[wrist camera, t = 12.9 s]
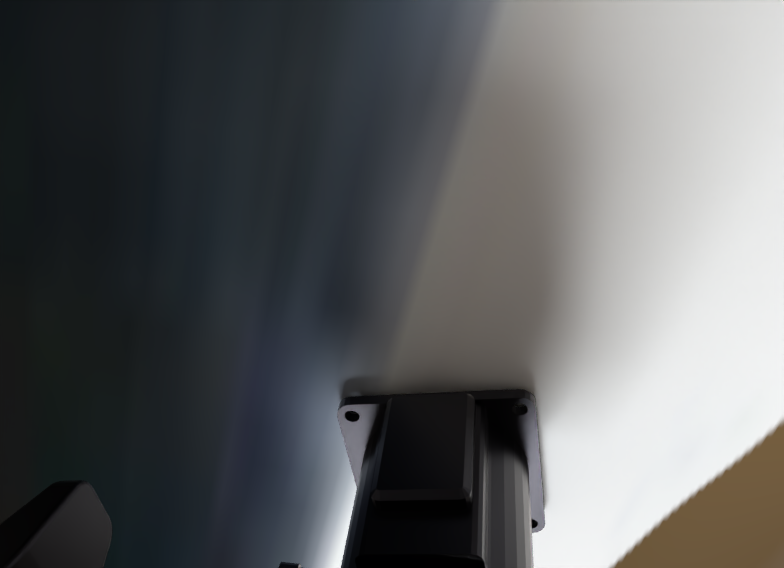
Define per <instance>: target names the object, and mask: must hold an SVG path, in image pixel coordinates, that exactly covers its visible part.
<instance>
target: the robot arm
mask: <svg viewBox="0 0 784 568" xmlns="http://www.w3.org/2000/svg"><path fill="white" fill-rule="evenodd" d="M515 404H524V405H525V406H522V407H517V406H515ZM350 410H351V411H355V412H357V413H356V414H354V413H351V412H349V411H350ZM337 417H338V421H339V424H340V428H341V431H342V435H343V439H344V442H345V446H346V450H347V453H348V457H349V460H350V464H351V468H352V471H353V475H354V478H355V482H356V486H357V491H356V496H355V501H354V506H353V511H352V516H351V521H350V526H349V531H348V536H347V540H346V545H345V550H344V555H343V560H342V565H341V568H534V567H533V547H532V533H534V532H538V531H541V530H542V529H543V528H544V526H545V515H544V502H543V490H542V477H541V464H540V452H539V439H538V427H537V414H536V401H535V398H534V396H533V395H532V394H531V393H530V392H528V391H526V390H521V389H513V390H491V391H469V392H447V393H424V394H402V395H380V396H358V397H348V398H345V399H343V400H342V401H341V403H340V405H339V408H338V412H337ZM111 538H112V523H111V520H110V517H109V516H108V514H107V512H106V510H105V508H104V507H103V505H102V503H101V501H100V499H99V498H98V496H97V494H96V492H95V491H94V489H93V487H92V486H91V484H89V483H88V482H86V481H82V480H77V481H59V482H56V483H53V484H52V485H50V486H49V487H48V488H46V489H45V490H44V491H42V492H41V493H40V494H39V495H37V496H36V497H35V498H33V499H32V500H31V501H30V502H28V503H27V504H26V505H24V506H23V507H22V508H21V509H19V510H18V511H17V512H15V513H14V514H13V515H11V516H10V517H9V518H8V519H6V520H5V521H4V522H2V523H1V524H0V568H103V567H104V564H105V560H106V557H107V553H108V550H109V546H110V543H111ZM279 568H301V565H300V564H295V563H286V562H281V563H280V565H279Z"/></svg>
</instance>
